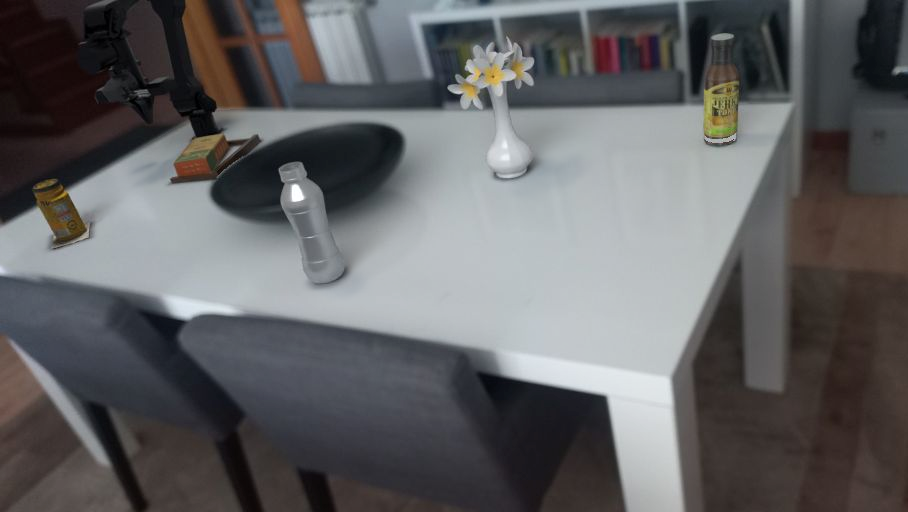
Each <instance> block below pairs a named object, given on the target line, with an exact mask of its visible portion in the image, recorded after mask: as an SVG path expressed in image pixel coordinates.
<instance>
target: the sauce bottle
mask: <svg viewBox="0 0 908 512" xmlns="http://www.w3.org/2000/svg"><path fill="white" fill-rule="evenodd" d="M734 45H735V35H734V34H732V33H725V32H724V33H717V34H713V35H712V36H711V37H710V47H711V56H710V57H711V58H710V64H709V66H708V68H707V69H706V71H705V74H704V87H703V121H702V122H703V125H702V126H703V127H702V129H703V131H702V132H703V136H704V135H705V136H706V137H707V138H710V139H723V138H728V137H730V136H732V135H734V134H735V133H736V134H737V132H738V122H739V97H740V96H739V94H740V93H739V92H740V81H739V79H740V78H739V76H740V74H739V71H738V67H736V64H735V63H734ZM733 140H734V139H733ZM733 140H731V141H729V142H723V143H712V142H708V141H706V140H705V139H704V138H703V141H704V142H705V144H707V145H710V146H715V147H716V146H717V147H724V146H729V145H730V144H733V143H735V142H736V141H733Z"/></svg>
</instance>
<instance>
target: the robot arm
mask: <svg viewBox="0 0 908 512" xmlns="http://www.w3.org/2000/svg"><path fill="white" fill-rule="evenodd" d="M146 1H147V2H149V4H150V6H151V9H152V11H153V12H154V13H155V14H156V16H157V17H158V18H159V19H160V21H161V25H162V29H163V35H164V39H165V43H166V47H167V52H168V57H169V61H170V65H171V66H170V67H171V71H172V74H173V75H172V76H173V77H171V76H170V75H169V76H163V77H162V76H161V77H157V78H155V79H153V80H152V81H150V82H149V78H148V76H144V75H143V73H142V70H141V68H140V66H141V65H142V62H141V60H140V59H136V56H135V55H134V52H133V50H132V48H131V46H130V43H129V41H128V39H127V37H128V36H131V35H132V32H131V31H130V30H128V29H125V28H124V25H125V23H126V21H128V15H127V14H128V12H129V11H130V10H131V9H132V8H133V7H134V6H135V5H136V4H138V2H140V0H101V1H98V2H95V3H93V4H91V5H89V6H86V7H85V8H84V9H83V11H82V15H83V24H82V25H83V26H82V27H83V28H82V41H83V42H82V41H81V42H80V43H78V44H77V47H78V49H79V50H78V51H77V54H76V62H77V65H78V66H79V67H80V68H81V70H82V71H84V72H85V73H86V74H89V75H97V74H99V73H101V72H103V71H105V70H107V69H108V70H107V71H108V75H109V79H108V80H107V81H106V83H105V84H104V86H101V87H100V88H98V89H97V90H95V91H94V98H95V100H96V103H97V104H105V103H106V104H107V103H109V102H110V103H113V104H114V103H116V102H118V103H119V104H121V105H126V106H128V107H130V108H131V109H132V110H134V111H135V113H136V114H138V116H139V117H140V118H141V119H142V120H143V121H144V122H145V123H146V124H147V125H148V126H149V125H153V123H154V103H155V97H159V96H164V95H167V94H168V95H169V102H171V104H172V107H173V108H174V109H175V110H176V112H177V113H178V115H179V116H180V117H181V118H185V117H188V120H189V122H190V126H191V128H192V131H193V133H194V135H193V136H192V137H191V141H192V140H193V139H195V138H200V137H205V136H211V135H217V134H220V132H222V131H223V130H224V127H218V125H217V122H216V120H215V117H214V114H213V113H216V110H218V106H217V101H216V100H215V99H214V98H213V97H211V96H210V95H208V94H206V92H205V89H204V86H203V84H202V83H201V82H200V81H199V80H198V78H197V77H196V76H195V73H194V67H193V64H192V59H191V54H190V50H189V46H188V45H189V44H188V41H187V40H188V39H187V36H186V31H185V26H184V21H183V17H184V14H185V11H186V8H187V4H186V0H146Z"/></svg>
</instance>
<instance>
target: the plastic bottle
mask: <svg viewBox="0 0 908 512" xmlns="http://www.w3.org/2000/svg"><path fill="white" fill-rule="evenodd" d="M278 173H279V176H280V181H281V182H282V183H283V188H282V190H281V194H280V205H281V208H282V210H283V212H284V215H285V216H286V217H287V220H288V222H289V223H290V225H291V227H292V230H293V233H294V234H295V238H296V240H297V242H298V247H299V252H300V256H301V264H302V268H303V272H304V274H305V276H306V277H307V279H308V280H309V281H311V282H312V283H314V284H327V283H330V282H333V281H335V280H338V279H339V278H340V277H341V276H342V275H343V274H344V270H345V269H346V268H345V267H346V265H345V258H344V256H343V254H342V252H341V250H340V248H339V246H338V245H337V243H336V240H335V238H334V235H333V232H332V231H331V227H330V224H329V219H328V215H327V209H326V203H325V196H324V193H323V191H322V189H321V188H320V186H319V185H318V184H316V182H314V181H313V180H311V179H309V178H308V177H307V176H308V173H307V170H306V169H305V166H304V164H303V162H301V161H293V162H288V163H285V164H283V165H281V166H280V167H279V168H278Z"/></svg>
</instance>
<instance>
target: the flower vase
mask: <svg viewBox="0 0 908 512" xmlns="http://www.w3.org/2000/svg"><path fill="white" fill-rule="evenodd" d="M506 42H507V46H508V50H509V51H507V52H505V53H503V52H496V51H494V50H495V42H494V41H492V42H490V43H489V44H488V46H487V47H486V49H485V51H484V49H483V48H482V47H481V46H480V45H479V44H475V45H474V46H473V48H472V52H473V56H474V58H473V59H470V58H469V59H467V61H466V65H465V66H464V71H466V72H469V73H471V74H470V75H468V76H467V77H466V78H464V77H463V76H462V75H461V74H459V73H456V74H455V76H454V77H455V81H456V82H457V83H458V84H449V85H448V86H447V90H448V91H449V92H451V93H452V94H456V95H461V97H460V107H461V108H462V109H463V110H467V109H469V107H470V106H471V103H473V105H474V106H475V107H476V108H477V109H479V110H483V109H484V106H483V103H482V101H481V99H480V96H479V94H480V92H481V90H482V89H485V88H487V91H488V95H489V97H490V101H491V105H492V113H493V119H494V135H493V136H494V137H493V141H492V143H491V144H490V146H488V148H487V151H486V153H485V163H486V166H487V167H488V168H489V169H490V170H491V171H493V172H495V174H496V176H497V177H498V178H501V179H515V178H518V177H521V176H523V175H524V174H525V173H527V171H528V166H529V165H530V163H532V160H533V158H534V157H533V156H534V152H533V149H532V147H531V146H530V145H529V143H528V142H527V141H526V140H524V139H523V138H521V137H520V136H519V134H518V133H517V131H516V129H515V127H514V124H513V121H512V117H511V112H510V107H509V103H508V102H509V101H508V94H507V93H508V91H507V90H508V88H507V87H508V86H507V83H508V82H510V81H514V85H515V88H516V89H517V90H520V89H521V87H522V86H523V85H522V82H524V83H525V84H526V85H528V86H530V87H533V86H534V85H535V81H534V79H533V77H532V75H531V74H530V73H529V72H527V71H529V70H530V69H532V68H533V66H534V64H535V59H534V57H532V56H528V57H526V56H523V51H522V48H521V46H520V45H519V44H518V43H517V42H514V43H513V44H512V42H511V39H510V38H509V37H508V36H507V35H506ZM505 66H507V68H508V69H507V68H505V69H503V68H504V67H505Z"/></svg>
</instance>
